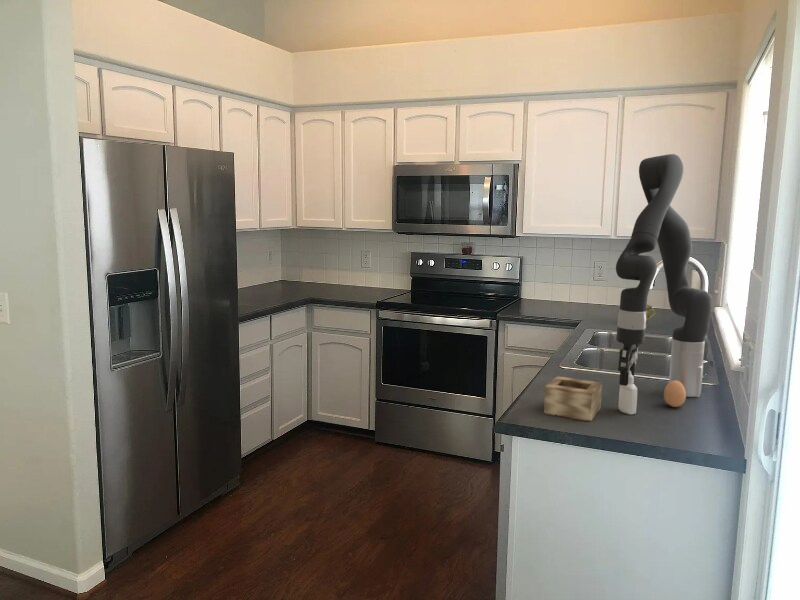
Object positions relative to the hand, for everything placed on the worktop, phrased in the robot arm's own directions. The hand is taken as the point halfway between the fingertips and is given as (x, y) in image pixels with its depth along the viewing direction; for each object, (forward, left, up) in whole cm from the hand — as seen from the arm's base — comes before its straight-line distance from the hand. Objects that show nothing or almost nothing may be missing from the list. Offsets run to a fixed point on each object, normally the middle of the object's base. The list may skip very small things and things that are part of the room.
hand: (626, 381), depth 184 cm
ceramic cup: (+17, -132, -9) cm, 134 cm away
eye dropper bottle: (-1, 0, -9) cm, 9 cm away
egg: (-12, -12, -9) cm, 19 cm away
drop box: (+13, +8, -9) cm, 18 cm away
